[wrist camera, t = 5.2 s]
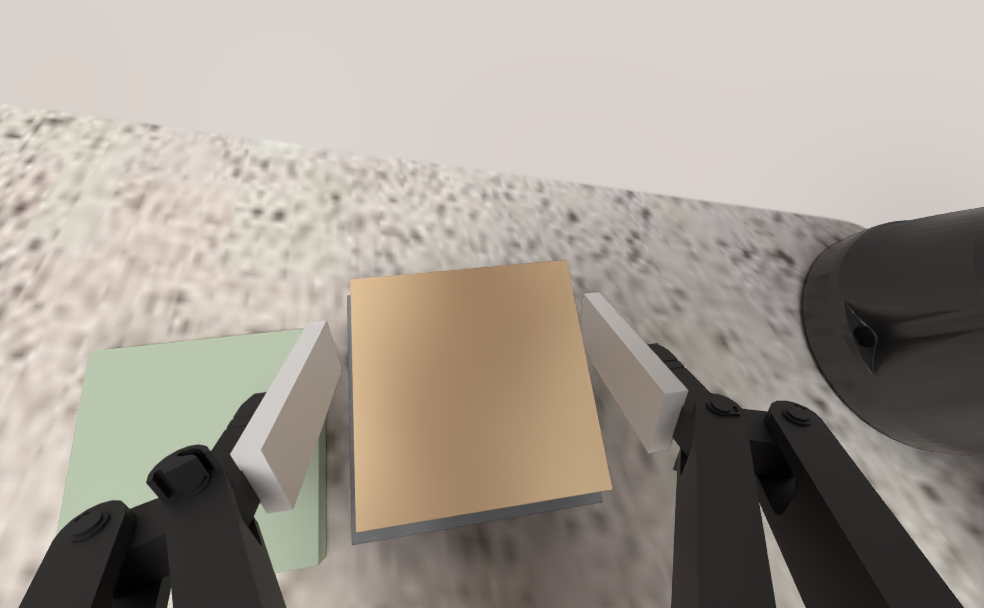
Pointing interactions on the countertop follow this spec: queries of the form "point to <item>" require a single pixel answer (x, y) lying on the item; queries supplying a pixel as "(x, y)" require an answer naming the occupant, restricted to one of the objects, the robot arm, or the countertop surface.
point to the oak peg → (470, 394)
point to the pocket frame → (447, 521)
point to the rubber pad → (184, 429)
